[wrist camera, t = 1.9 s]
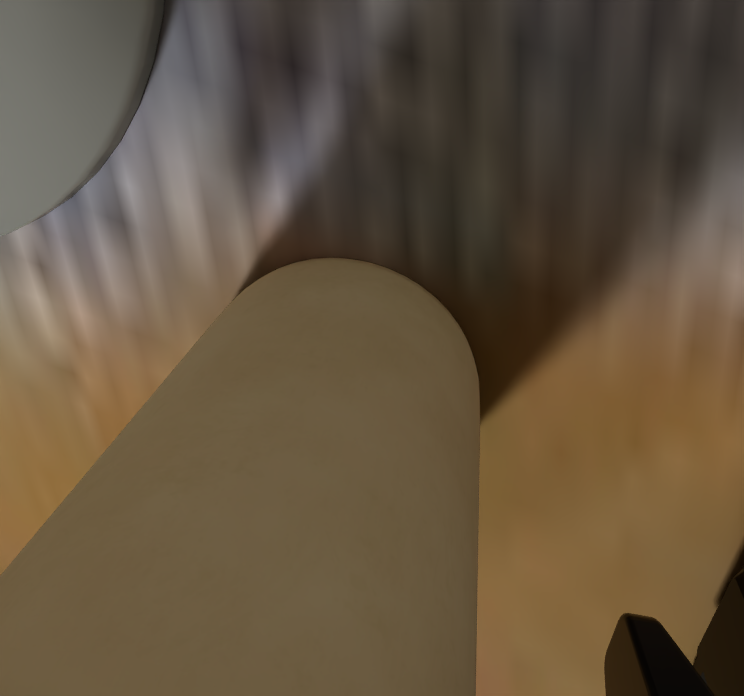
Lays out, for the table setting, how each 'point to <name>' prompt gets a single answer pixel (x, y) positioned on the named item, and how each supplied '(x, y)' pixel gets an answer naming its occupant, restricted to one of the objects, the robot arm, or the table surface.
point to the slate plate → (66, 94)
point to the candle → (272, 512)
